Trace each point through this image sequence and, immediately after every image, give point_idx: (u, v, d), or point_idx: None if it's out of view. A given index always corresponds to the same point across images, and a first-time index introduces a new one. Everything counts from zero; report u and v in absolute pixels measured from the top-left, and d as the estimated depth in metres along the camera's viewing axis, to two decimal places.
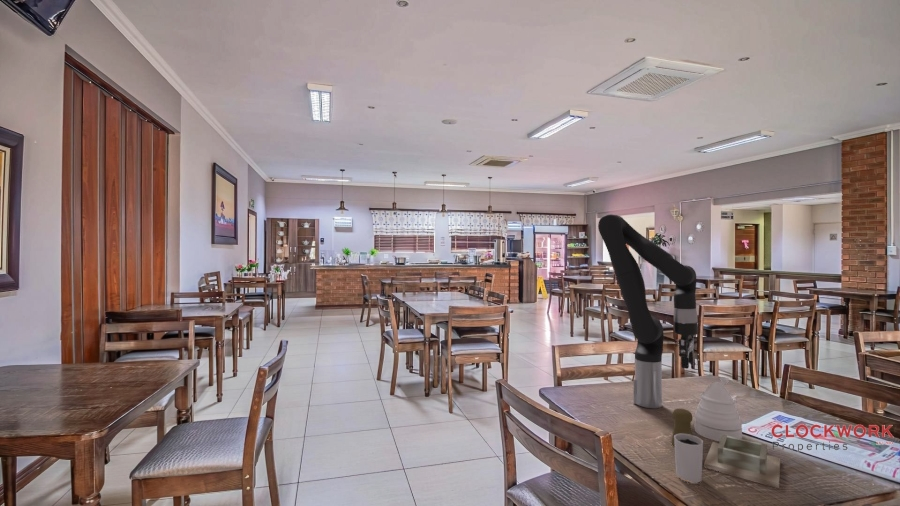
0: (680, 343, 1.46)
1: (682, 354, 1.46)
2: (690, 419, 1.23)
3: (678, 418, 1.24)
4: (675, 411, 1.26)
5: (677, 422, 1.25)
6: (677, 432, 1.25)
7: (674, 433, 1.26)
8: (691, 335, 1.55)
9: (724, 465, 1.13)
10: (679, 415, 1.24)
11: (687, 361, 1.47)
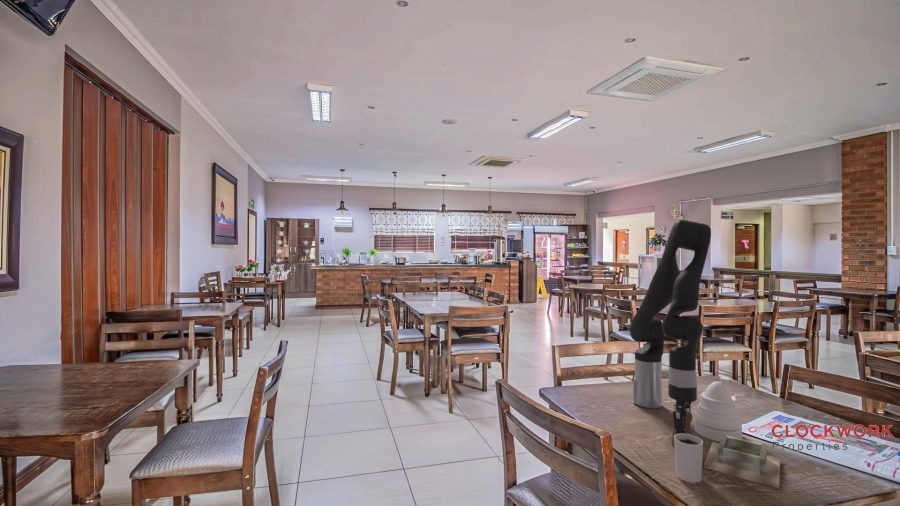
0: (675, 416, 1.21)
1: (678, 426, 1.22)
2: (690, 419, 1.23)
3: None
4: None
5: None
6: None
7: (674, 433, 1.26)
8: (688, 401, 1.30)
9: (724, 465, 1.13)
10: None
11: None
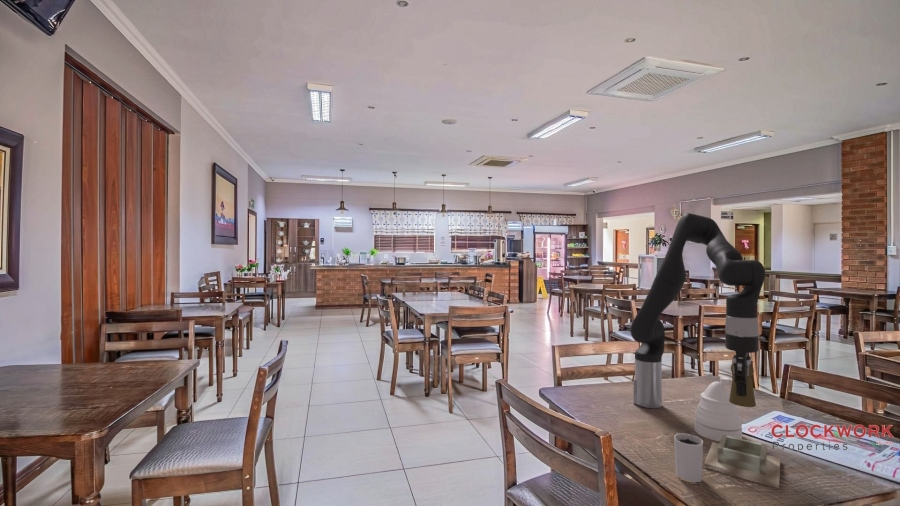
0: (736, 368, 1.10)
1: (739, 380, 1.11)
2: (752, 372, 1.12)
3: None
4: None
5: None
6: None
7: (733, 388, 1.15)
8: None
9: (724, 465, 1.13)
10: None
11: (745, 389, 1.12)
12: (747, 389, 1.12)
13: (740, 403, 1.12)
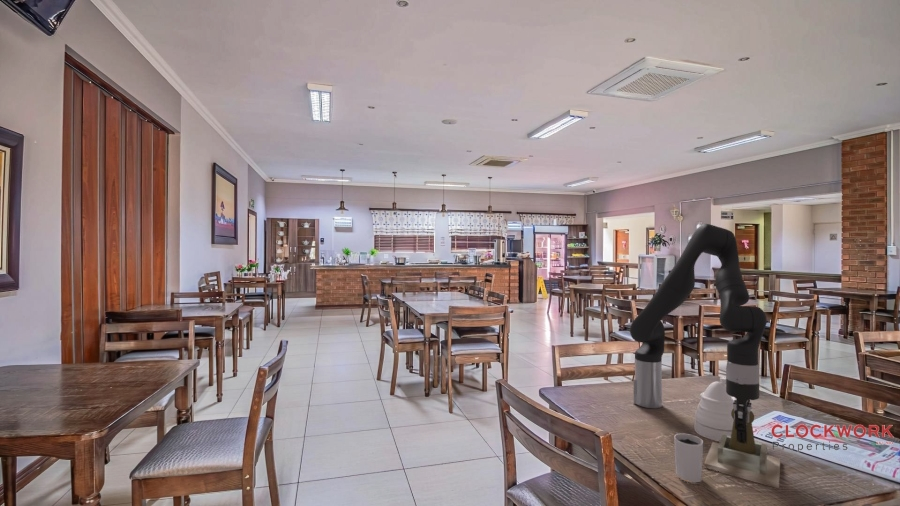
0: (737, 416, 1.10)
1: (740, 427, 1.11)
2: (752, 419, 1.12)
3: None
4: None
5: None
6: None
7: (733, 434, 1.15)
8: (747, 399, 1.19)
9: (724, 465, 1.13)
10: None
11: (745, 435, 1.12)
12: (747, 436, 1.12)
13: (740, 450, 1.13)
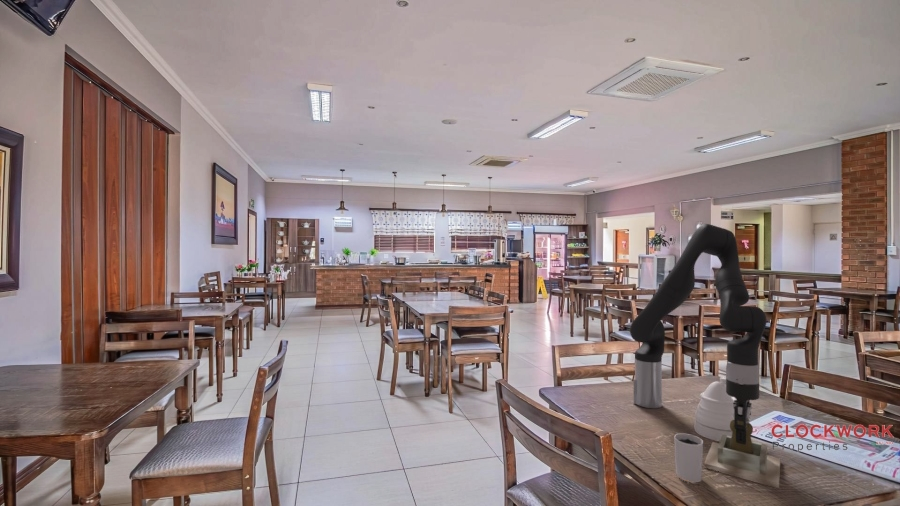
0: (736, 411, 1.10)
1: (739, 426, 1.09)
2: (751, 431, 1.12)
3: None
4: (733, 422, 1.15)
5: None
6: (736, 445, 1.14)
7: (732, 446, 1.15)
8: None
9: (724, 465, 1.13)
10: None
11: (744, 435, 1.11)
12: (746, 448, 1.12)
13: None
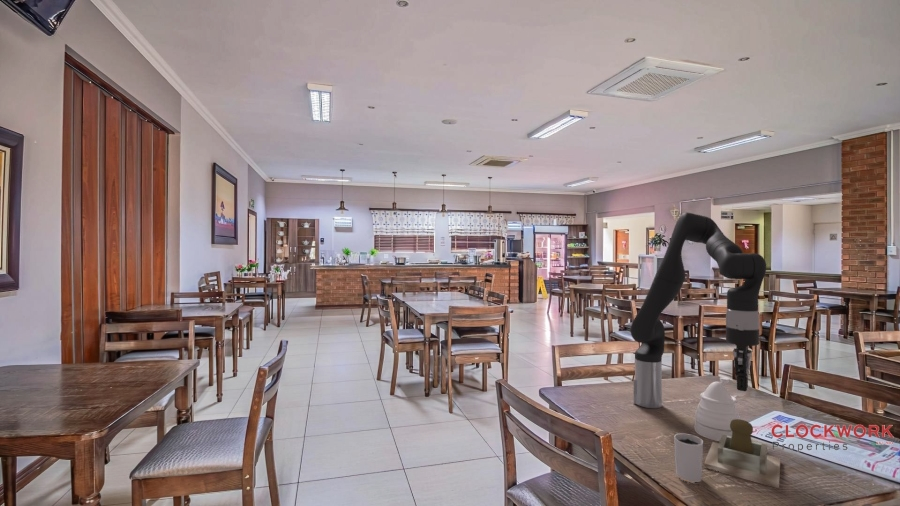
0: (737, 363, 1.10)
1: (740, 373, 1.11)
2: (751, 431, 1.12)
3: (737, 430, 1.13)
4: (733, 422, 1.15)
5: (736, 434, 1.14)
6: (736, 445, 1.14)
7: (732, 446, 1.15)
8: (747, 350, 1.18)
9: (724, 465, 1.13)
10: (738, 427, 1.13)
11: (745, 382, 1.13)
12: (746, 448, 1.12)
13: None
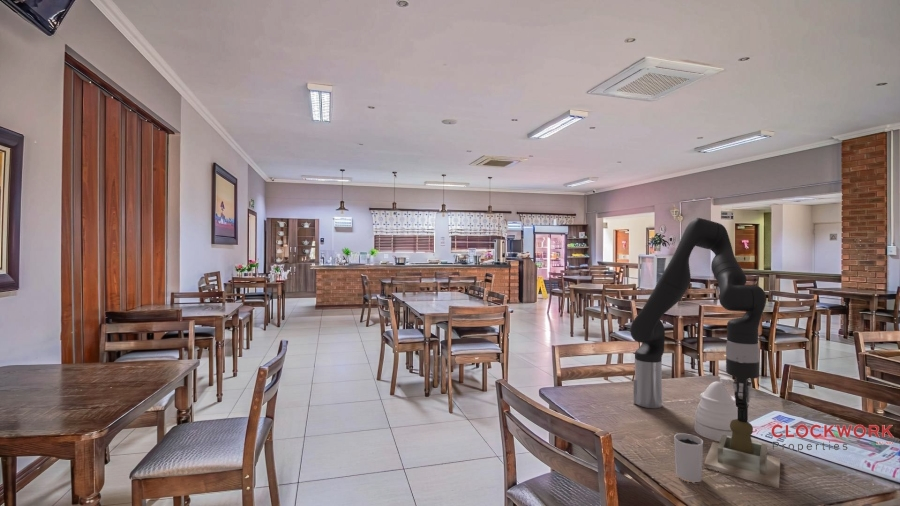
0: (737, 397, 1.11)
1: (740, 404, 1.12)
2: (751, 431, 1.12)
3: (737, 430, 1.13)
4: (733, 422, 1.15)
5: (736, 434, 1.14)
6: (736, 445, 1.14)
7: (732, 446, 1.15)
8: None
9: (724, 465, 1.13)
10: (738, 427, 1.13)
11: (746, 413, 1.14)
12: (746, 448, 1.12)
13: None
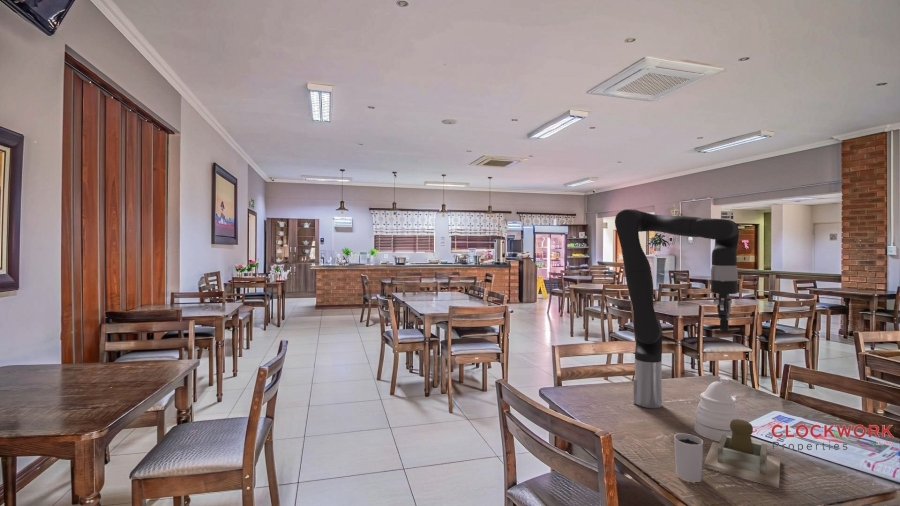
0: (719, 309, 1.36)
1: (722, 315, 1.38)
2: (751, 431, 1.12)
3: (737, 430, 1.13)
4: (733, 422, 1.15)
5: (736, 434, 1.14)
6: (736, 445, 1.14)
7: (732, 446, 1.15)
8: None
9: (724, 465, 1.13)
10: (738, 427, 1.13)
11: (727, 323, 1.39)
12: (746, 448, 1.12)
13: None
